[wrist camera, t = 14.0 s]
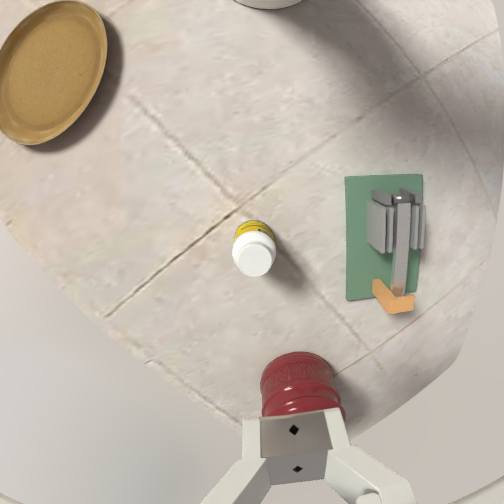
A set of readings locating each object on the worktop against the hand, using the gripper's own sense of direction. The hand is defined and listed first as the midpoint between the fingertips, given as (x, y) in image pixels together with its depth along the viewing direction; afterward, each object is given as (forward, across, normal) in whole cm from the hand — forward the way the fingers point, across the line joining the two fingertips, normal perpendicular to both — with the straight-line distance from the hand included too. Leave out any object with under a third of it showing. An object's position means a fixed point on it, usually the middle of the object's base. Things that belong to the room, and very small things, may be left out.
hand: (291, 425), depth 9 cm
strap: (+32, -19, +7) cm, 38 cm away
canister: (+37, -4, +32) cm, 49 cm away
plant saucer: (+38, +30, -26) cm, 55 cm away
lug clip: (+36, -19, +14) cm, 43 cm away
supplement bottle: (+37, +1, +5) cm, 38 cm away
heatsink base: (+37, -19, +7) cm, 42 cm away
